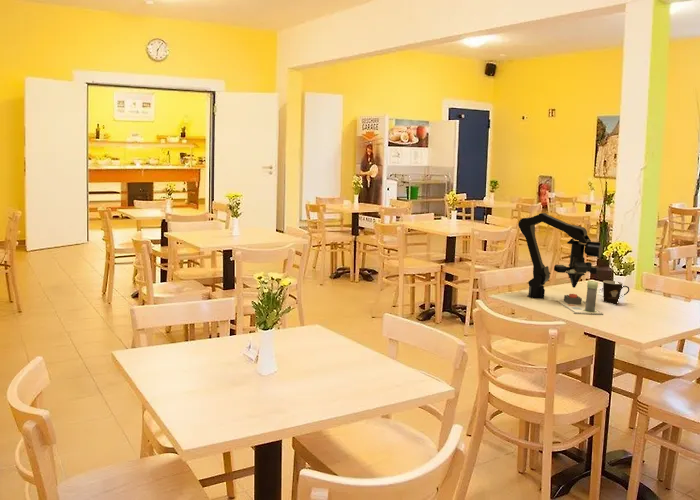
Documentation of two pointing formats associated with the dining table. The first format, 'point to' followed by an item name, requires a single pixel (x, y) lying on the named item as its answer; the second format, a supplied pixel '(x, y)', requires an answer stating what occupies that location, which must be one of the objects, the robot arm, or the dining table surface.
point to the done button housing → (572, 300)
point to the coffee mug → (612, 291)
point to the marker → (591, 296)
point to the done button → (572, 295)
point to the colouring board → (579, 308)
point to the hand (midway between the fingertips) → (573, 287)
